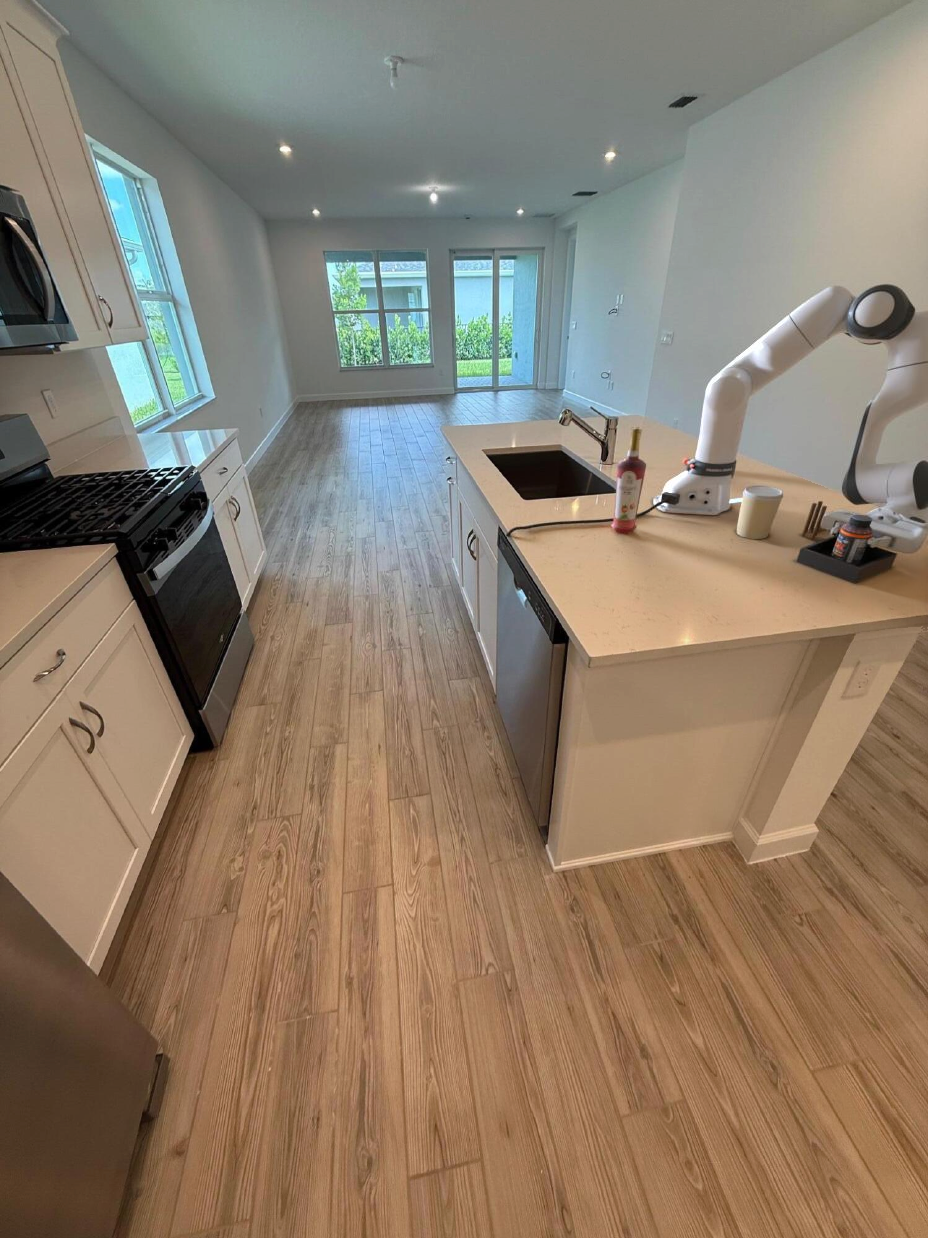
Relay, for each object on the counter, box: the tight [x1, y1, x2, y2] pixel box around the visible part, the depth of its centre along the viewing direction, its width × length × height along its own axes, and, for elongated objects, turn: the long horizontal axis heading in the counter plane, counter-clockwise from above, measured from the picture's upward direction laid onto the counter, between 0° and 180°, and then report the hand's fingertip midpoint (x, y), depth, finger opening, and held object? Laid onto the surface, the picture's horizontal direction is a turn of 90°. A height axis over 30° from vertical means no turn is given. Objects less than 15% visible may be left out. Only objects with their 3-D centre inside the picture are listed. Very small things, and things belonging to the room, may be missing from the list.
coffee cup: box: [736, 485, 784, 540], centre depth 135 cm, size 9×9×12 cm
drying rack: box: [801, 500, 828, 542], centre depth 132 cm, size 13×11×9 cm
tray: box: [795, 535, 898, 584], centre depth 120 cm, size 15×14×4 cm
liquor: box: [611, 426, 647, 535], centre depth 137 cm, size 7×7×28 cm
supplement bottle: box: [831, 513, 873, 566], centre depth 118 cm, size 6×6×11 cm
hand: (851, 537), depth 117 cm, fingers open, 7 cm apart
